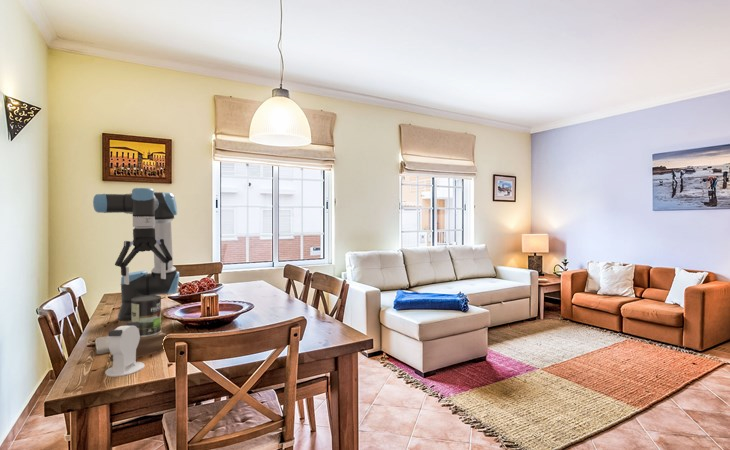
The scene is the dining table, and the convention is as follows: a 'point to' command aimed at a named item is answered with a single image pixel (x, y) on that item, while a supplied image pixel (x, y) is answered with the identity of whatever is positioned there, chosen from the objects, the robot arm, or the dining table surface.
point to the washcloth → (102, 345)
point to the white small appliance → (124, 350)
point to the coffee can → (147, 314)
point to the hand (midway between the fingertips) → (145, 281)
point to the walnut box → (150, 344)
